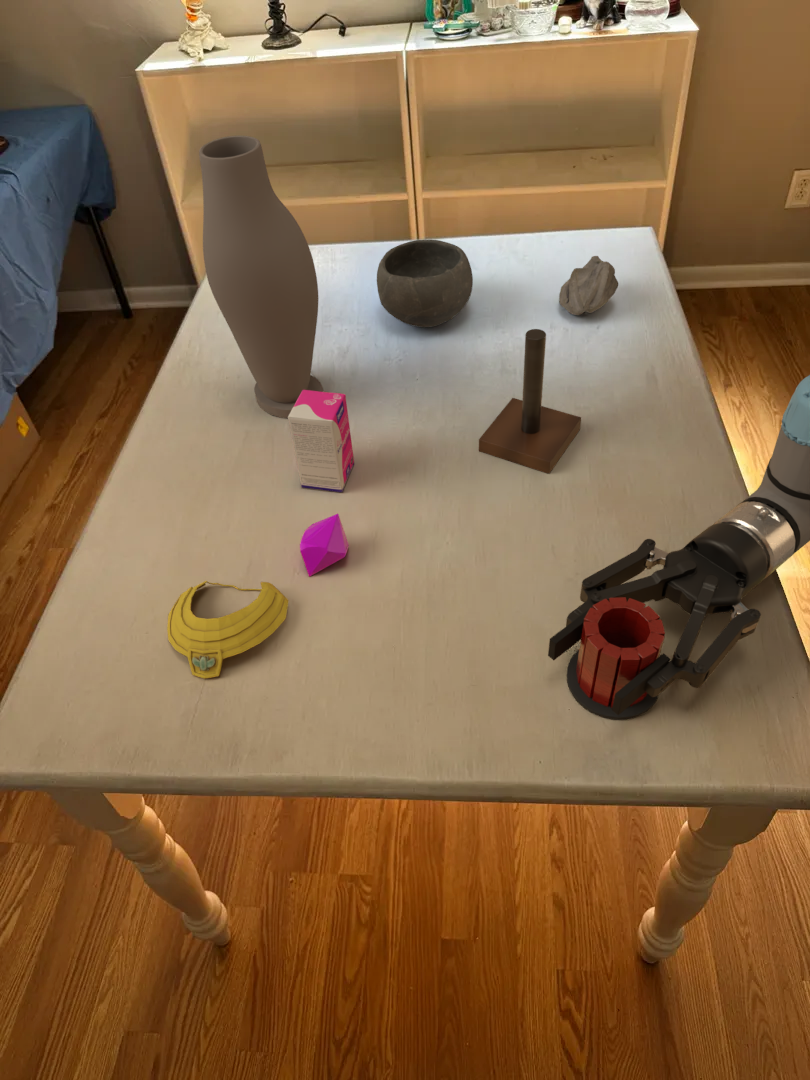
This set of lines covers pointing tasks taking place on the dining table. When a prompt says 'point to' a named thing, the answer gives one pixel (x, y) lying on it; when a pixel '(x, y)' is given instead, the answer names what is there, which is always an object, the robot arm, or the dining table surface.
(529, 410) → the ring holder
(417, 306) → the bowl
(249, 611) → the necklace
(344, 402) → the supplement box
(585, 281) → the fossil
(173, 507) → the dining table surface
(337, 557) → the crystal
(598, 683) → the ring
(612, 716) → the mat
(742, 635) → the robot arm
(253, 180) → the vase
